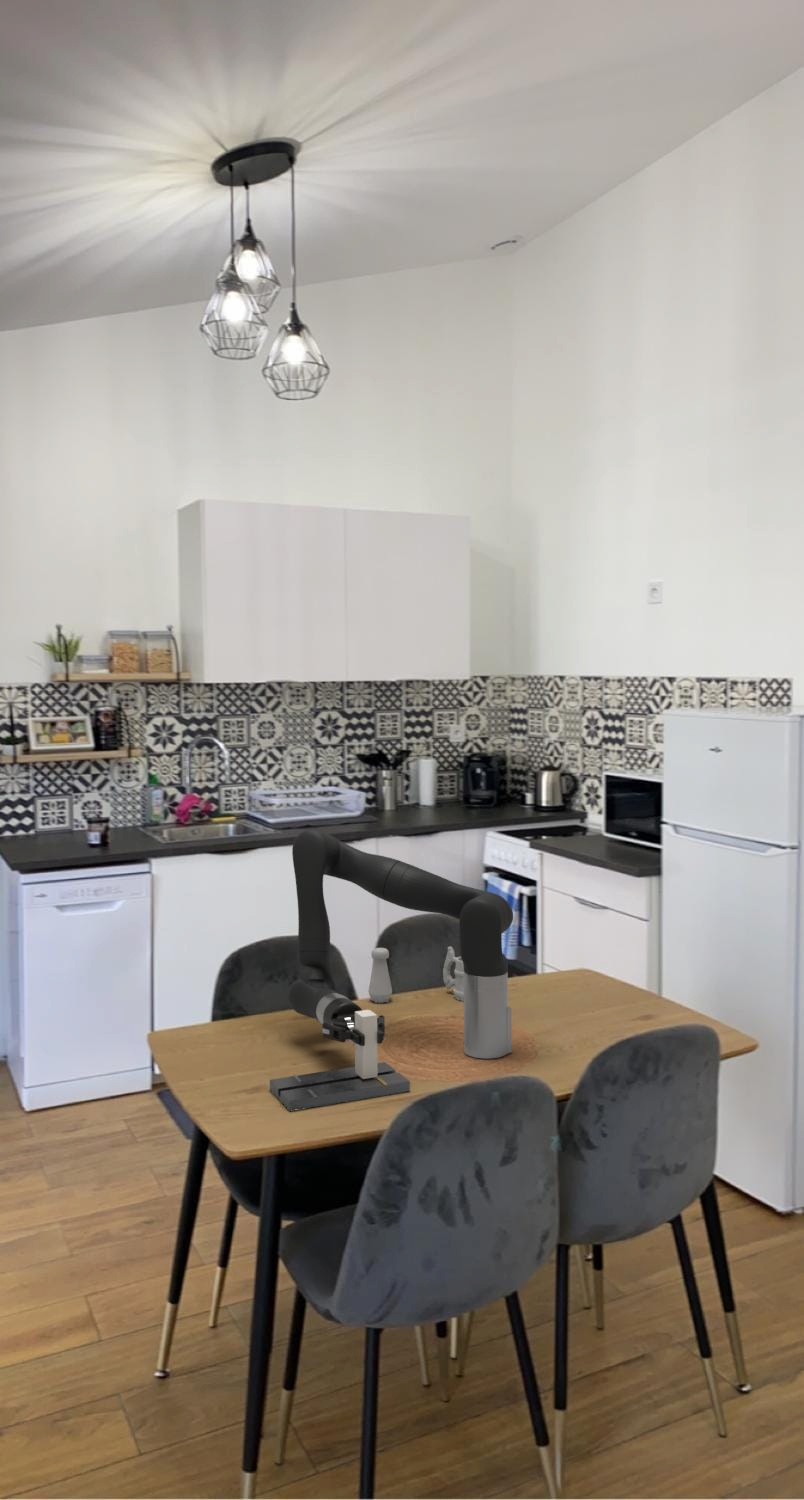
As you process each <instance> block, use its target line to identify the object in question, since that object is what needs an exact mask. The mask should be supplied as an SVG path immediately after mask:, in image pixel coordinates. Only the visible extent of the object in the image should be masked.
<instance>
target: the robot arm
mask: <svg viewBox="0 0 804 1500" xmlns="http://www.w3.org/2000/svg"><path fill="white" fill-rule="evenodd" d="M291 849H292V850H291V851H292V854H291V856H292V863H293V869H294V877H295V887H296V898H297V911H298V912H297V913H298V919H297V920H298V930H297V931H298V934H297V935H298V937H297V938H298V939H297V964H299V966H300V967H301V968H306V969H310V970H313V971H314V972H315V974H316V976H317V978H316V979H315V978H299V979H297V980H295V981H293V982H292V983H291V984H290V986H289V988H288V992H287V999H288V1003H289V1005H290V1008H292V1010H293V1011H295V1012H296V1013H297V1014H299V1015H303V1016H305V1017H308V1018H312V1019H316V1021H318V1022H319V1023H320V1025H321V1026H322V1027H321V1028H322V1034H321V1035H322V1037H323V1038H325V1039H326V1038H327V1039H330V1040H332V1041H336V1042H339V1043H345V1042H347V1041H349V1042H350V1043H354V1044H355V1043H356V1044H358V1045H360V1046H365V1036H364V1034H363V1033H361V1032H360V1031H359V1030H356V1028H355V1011H363V1009H362V1008H361V1006H360V1005H358V1004H357V1003H355V1002H354V1001H353V1000H351V999H349V998H348V997H347V996H345V995H343V994H340V993H338V990H337V986H336V982H335V979H334V974H333V971H332V970H333V969H332V964H331V958H330V955H331V930H330V929H331V927H330V921H329V916H328V912H327V908H326V902H325V897H324V895H325V894H324V876H329V877H333V878H337V879H340V880H343V881H347V882H350V883H353V884H354V885H356V886H357V887H360V888H361V889H363V890H364V891H366V892H367V893H369V894H372V895H373V896H374V897H376V898H379V899H381V900H383V901H386V902H387V903H391V904H393V905H396V906H398V907H401V908H405V909H408V910H412V911H420V912H427V913H434V914H442V915H446V916H450V917H452V918H454V919H457V920H459V924H458V925H459V926H458V928H459V930H458V931H459V934H458V935H459V949H460V951H459V953H460V954H459V955H460V956H461V959H462V961H463V964H464V1001H463V1053H464V1054H466V1055H467V1056H469V1057H472V1058H476V1059H498V1058H502V1057H504V1056H506V1055H508V1054H511V1053H512V1051H513V1050H512V1049H513V1048H512V1045H513V1043H512V1042H513V1041H512V1039H513V1038H512V1037H513V1035H512V1033H513V1032H512V1031H513V1030H512V1027H513V1026H512V1024H513V1023H512V1022H513V1020H512V1017H513V1015H512V1008H511V1006H509V1002H508V1001H509V1000H508V999H509V998H508V996H509V995H508V992H509V990H508V988H509V987H508V985H509V984H508V981H509V980H508V979H509V977H508V975H509V973H508V971H509V969H508V968H509V967H508V966H509V965H508V964H509V963H508V959H507V957H506V956H504V953H503V944H502V943H503V942H502V934H504V933H505V932H506V931H507V930H508V929H509V928H510V927H511V925H512V923H513V921H514V911H513V909H512V906H511V904H510V903H509V902H508V901H507V900H506V899H505V898H504V897H503V896H502V895H500V894H497V893H495V892H491V891H487V890H483V889H479V888H474V887H471V886H466V885H463V884H461V883H460V884H459V883H457V882H453V881H451V880H449V879H447V878H445V877H443V876H439V875H438V874H435V873H432V872H429V871H427V870H424V869H422V868H420V867H417V866H415V865H412V864H409V863H407V862H405V861H401V860H400V859H399V860H398V859H396V858H393V857H388V856H384V855H379V854H373V853H368V852H366V851H362V850H360V849H357V848H356V847H353V846H351V845H349V844H347V843H345V842H343V841H341V840H340V839H338V838H335V837H334V836H332V835H331V834H329V833H326V832H322V831H319V830H317V829H307V830H304V831H302V832H300V833H299V834H298V835H297V836H296V837H295V839H294V842H293V844H292V848H291ZM385 1022H386V1020H385V1015H378V1017H377V1045H379V1044H383V1041H385V1040H384V1039H385V1038H384V1037H385V1035H386V1033H385V1031H386V1030H385V1028H386V1026H385V1025H386V1024H385Z"/></svg>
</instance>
